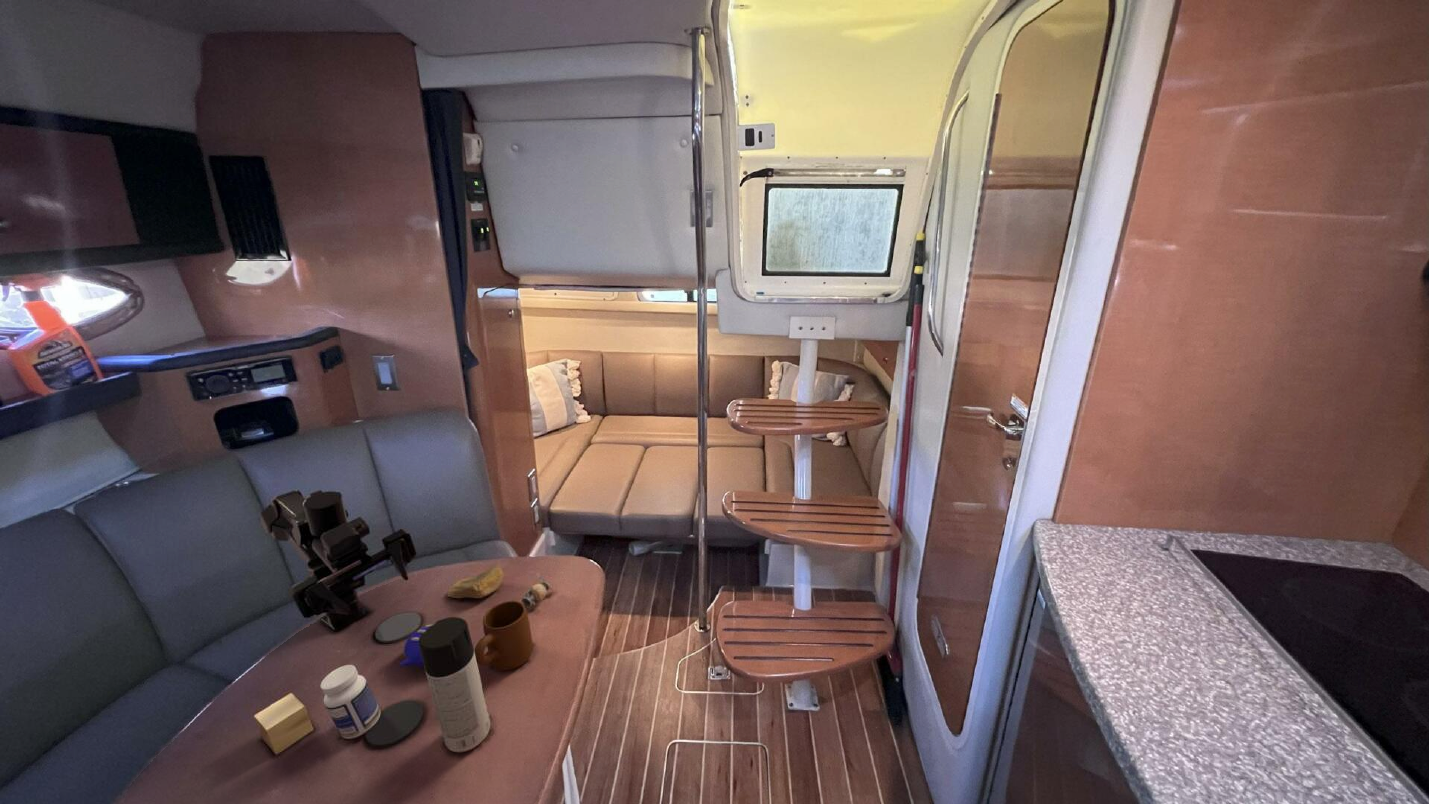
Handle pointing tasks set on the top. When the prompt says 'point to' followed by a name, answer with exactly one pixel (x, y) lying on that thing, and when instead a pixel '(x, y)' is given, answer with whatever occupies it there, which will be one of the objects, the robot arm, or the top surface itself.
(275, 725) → the block
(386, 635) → the coaster
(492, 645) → the mug
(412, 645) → the decorative object
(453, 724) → the spray can
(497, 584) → the stone
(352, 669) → the pill bottle
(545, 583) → the vase
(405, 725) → the coaster
